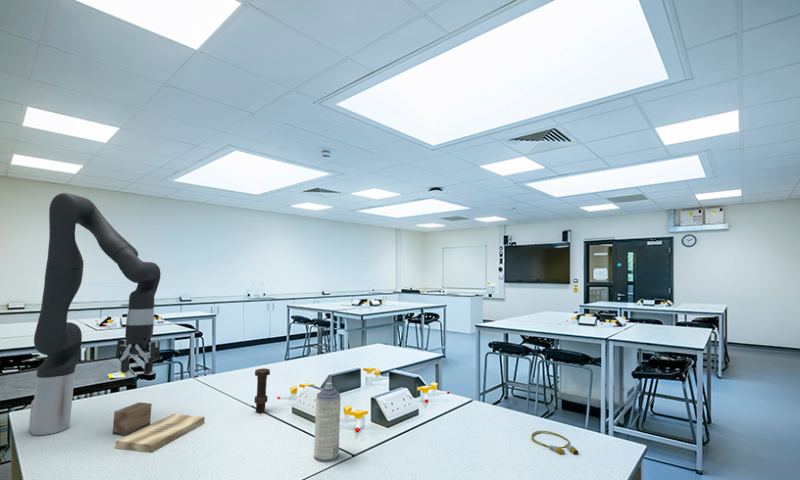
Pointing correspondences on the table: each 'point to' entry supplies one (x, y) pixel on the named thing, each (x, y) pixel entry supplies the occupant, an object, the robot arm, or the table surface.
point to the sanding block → (131, 419)
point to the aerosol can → (327, 424)
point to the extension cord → (555, 448)
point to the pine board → (159, 433)
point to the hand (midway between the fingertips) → (136, 373)
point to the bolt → (261, 389)
